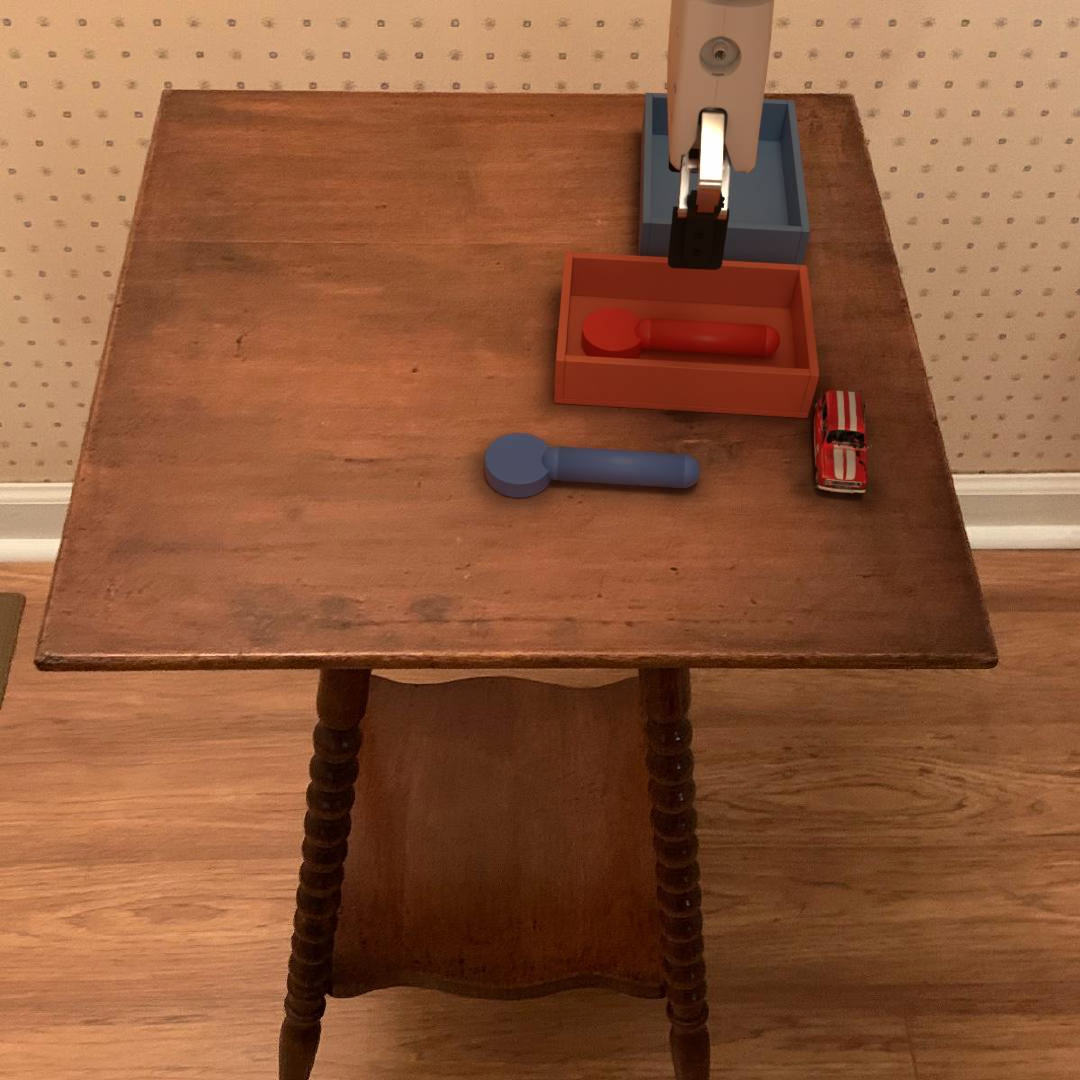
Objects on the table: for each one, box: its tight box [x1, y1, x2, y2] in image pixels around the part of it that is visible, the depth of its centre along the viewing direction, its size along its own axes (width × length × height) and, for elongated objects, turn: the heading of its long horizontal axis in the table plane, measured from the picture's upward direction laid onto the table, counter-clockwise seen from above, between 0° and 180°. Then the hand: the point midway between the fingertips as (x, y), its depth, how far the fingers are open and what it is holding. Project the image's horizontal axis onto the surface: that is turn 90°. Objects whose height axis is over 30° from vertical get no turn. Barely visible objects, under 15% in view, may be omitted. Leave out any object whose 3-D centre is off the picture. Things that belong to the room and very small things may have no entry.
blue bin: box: [638, 92, 811, 265], centre depth 94 cm, size 12×17×4 cm
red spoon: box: [581, 308, 780, 359], centre depth 83 cm, size 14×4×2 cm, turn 86°
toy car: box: [812, 389, 873, 495], centre depth 77 cm, size 4×8×3 cm, turn 173°
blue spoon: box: [484, 432, 701, 499], centre depth 76 cm, size 14×4×2 cm, turn 86°
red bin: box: [553, 251, 820, 419], centre depth 83 cm, size 17×11×4 cm, turn 86°
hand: (693, 216), depth 74 cm, fingers open, 9 cm apart
